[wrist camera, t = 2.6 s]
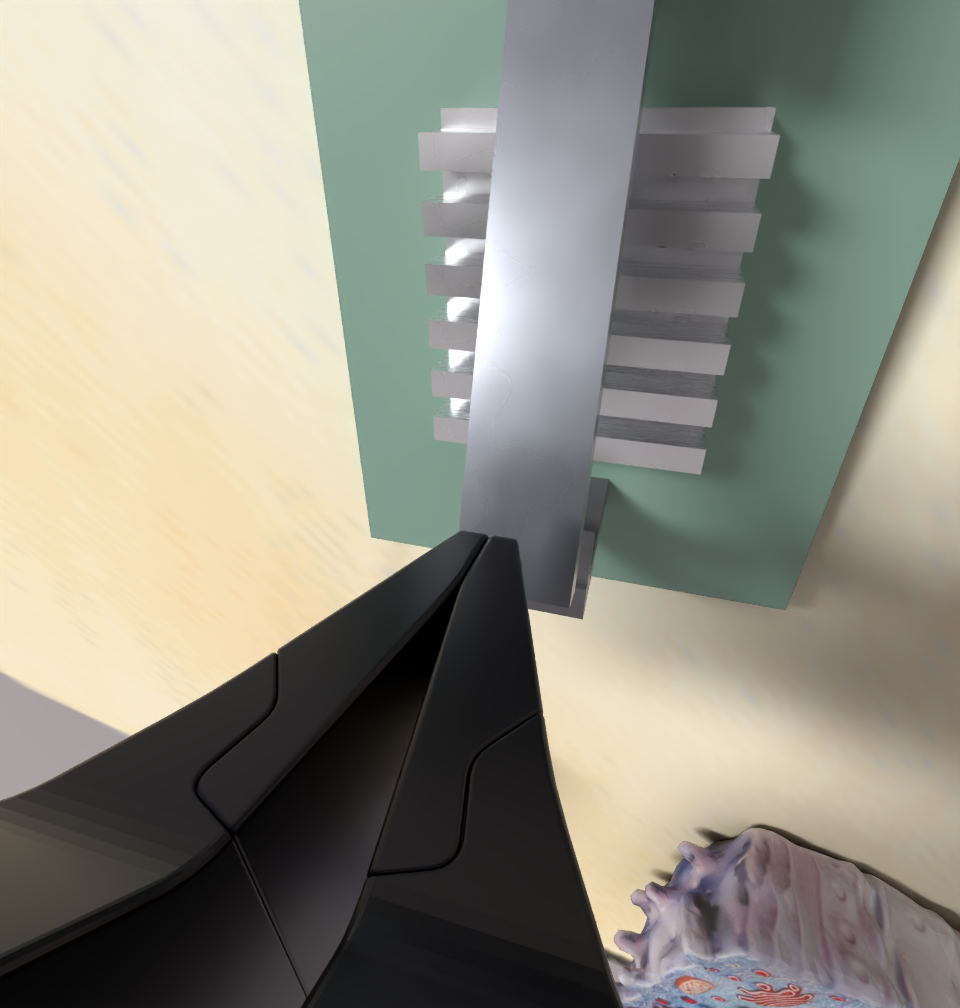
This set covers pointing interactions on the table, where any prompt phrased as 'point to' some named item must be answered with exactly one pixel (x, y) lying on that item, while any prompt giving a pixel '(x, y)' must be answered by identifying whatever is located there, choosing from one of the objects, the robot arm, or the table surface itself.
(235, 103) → the table surface
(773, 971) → the cell model
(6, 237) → the table surface
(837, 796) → the table surface
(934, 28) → the board
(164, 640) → the table surface
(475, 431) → the strap
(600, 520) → the lug
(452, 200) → the heatsink
